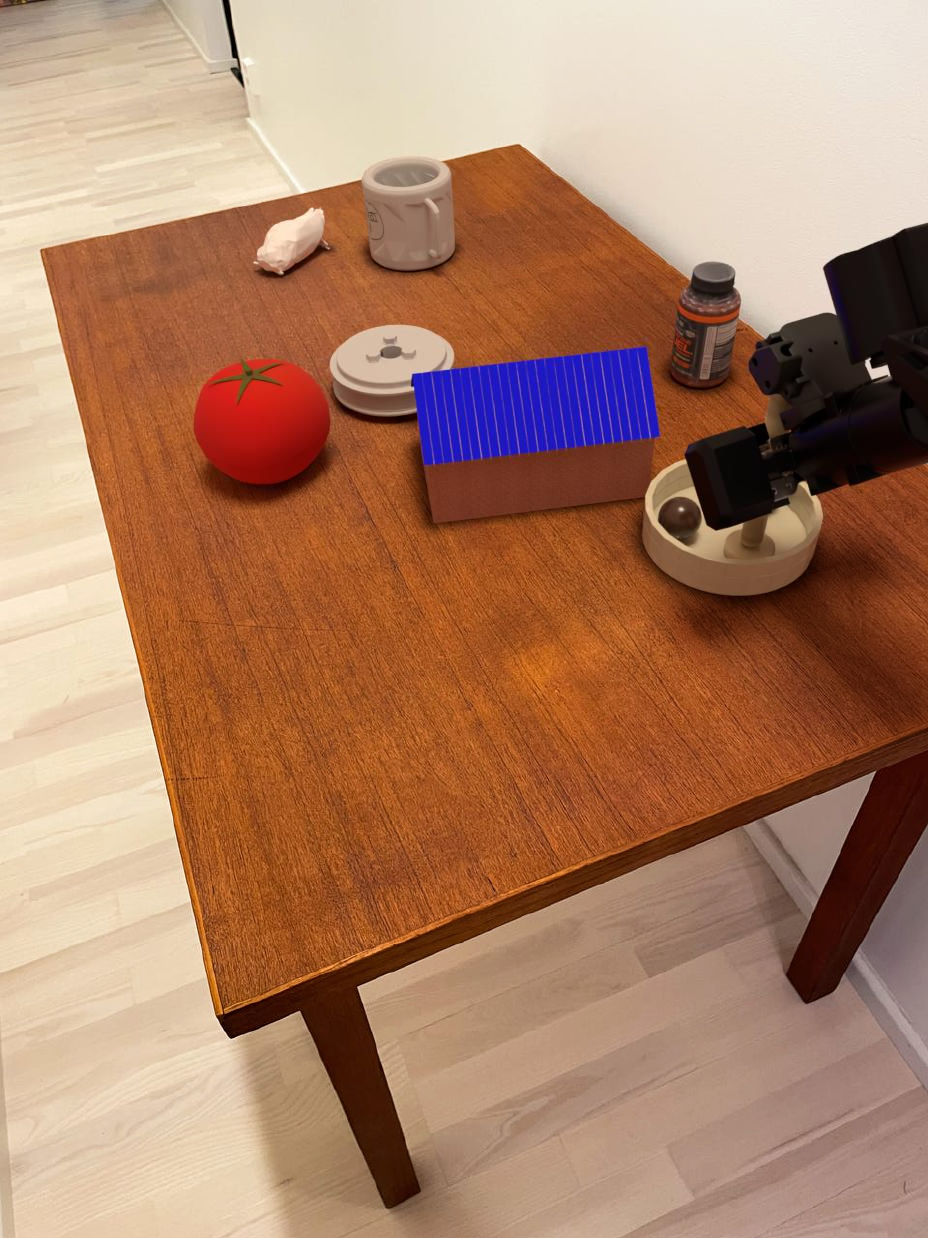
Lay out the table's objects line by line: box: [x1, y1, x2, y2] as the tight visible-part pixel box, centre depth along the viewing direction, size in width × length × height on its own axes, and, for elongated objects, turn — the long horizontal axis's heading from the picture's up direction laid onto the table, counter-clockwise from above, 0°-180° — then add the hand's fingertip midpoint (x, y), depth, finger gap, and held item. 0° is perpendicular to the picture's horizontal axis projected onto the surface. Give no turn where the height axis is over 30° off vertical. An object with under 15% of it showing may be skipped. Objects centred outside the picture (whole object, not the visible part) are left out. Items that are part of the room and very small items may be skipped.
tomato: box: [193, 357, 331, 485], centre depth 88 cm, size 11×12×10 cm
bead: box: [658, 497, 702, 540], centre depth 80 cm, size 4×4×4 cm
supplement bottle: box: [669, 261, 742, 389], centre depth 95 cm, size 6×6×11 cm
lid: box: [329, 324, 455, 417], centre depth 98 cm, size 13×13×5 cm
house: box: [411, 346, 661, 524], centre depth 85 cm, size 12×20×12 cm, turn 98°
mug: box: [361, 155, 456, 272], centre depth 117 cm, size 14×11×10 cm
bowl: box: [641, 458, 824, 597], centre depth 80 cm, size 14×14×4 cm
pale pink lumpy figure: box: [253, 206, 330, 276], centre depth 119 cm, size 5×7×10 cm
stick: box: [724, 394, 792, 559], centre depth 73 cm, size 4×4×16 cm
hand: (753, 471), depth 75 cm, fingers open, 3 cm apart
